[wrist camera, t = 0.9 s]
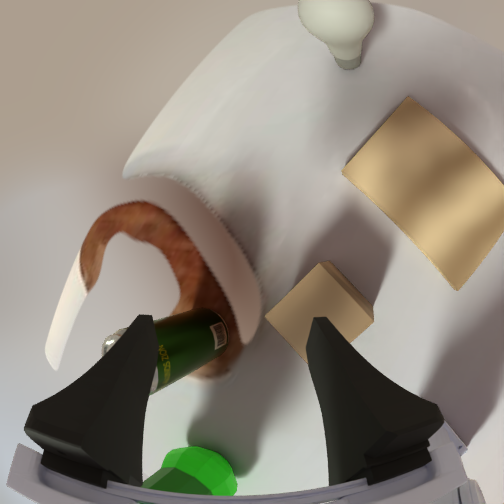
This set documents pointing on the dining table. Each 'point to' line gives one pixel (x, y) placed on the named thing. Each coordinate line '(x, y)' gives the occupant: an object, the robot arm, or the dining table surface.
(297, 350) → the tan cube
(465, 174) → the oak board
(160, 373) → the beer can
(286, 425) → the dining table surface
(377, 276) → the dining table surface
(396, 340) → the dining table surface
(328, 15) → the lightbulb
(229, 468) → the plastic bottle
